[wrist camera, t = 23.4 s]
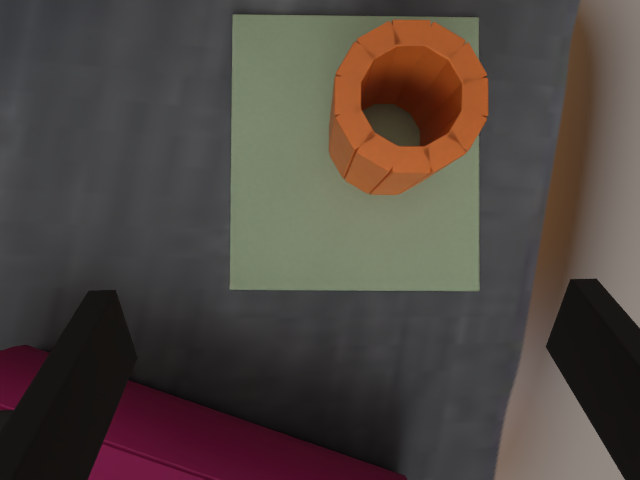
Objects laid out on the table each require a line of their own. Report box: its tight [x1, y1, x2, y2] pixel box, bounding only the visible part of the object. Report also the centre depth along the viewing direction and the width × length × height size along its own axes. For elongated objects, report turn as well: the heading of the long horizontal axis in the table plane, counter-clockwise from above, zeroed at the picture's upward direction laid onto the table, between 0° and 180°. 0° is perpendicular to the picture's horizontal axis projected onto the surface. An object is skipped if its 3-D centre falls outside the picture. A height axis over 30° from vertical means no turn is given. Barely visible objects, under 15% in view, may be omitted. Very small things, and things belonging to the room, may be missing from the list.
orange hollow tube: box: [329, 20, 488, 195], centre depth 28 cm, size 8×8×10 cm
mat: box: [230, 15, 479, 291], centre depth 33 cm, size 18×20×1 cm
